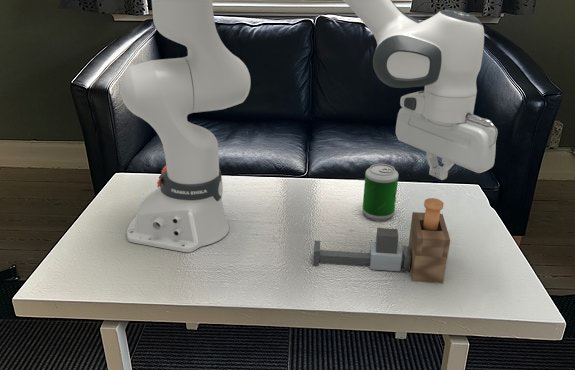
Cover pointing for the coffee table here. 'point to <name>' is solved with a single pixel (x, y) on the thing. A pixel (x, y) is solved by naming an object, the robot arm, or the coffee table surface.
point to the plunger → (432, 214)
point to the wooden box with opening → (428, 250)
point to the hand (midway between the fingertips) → (437, 176)
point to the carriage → (386, 250)
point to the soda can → (380, 191)
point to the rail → (353, 257)
